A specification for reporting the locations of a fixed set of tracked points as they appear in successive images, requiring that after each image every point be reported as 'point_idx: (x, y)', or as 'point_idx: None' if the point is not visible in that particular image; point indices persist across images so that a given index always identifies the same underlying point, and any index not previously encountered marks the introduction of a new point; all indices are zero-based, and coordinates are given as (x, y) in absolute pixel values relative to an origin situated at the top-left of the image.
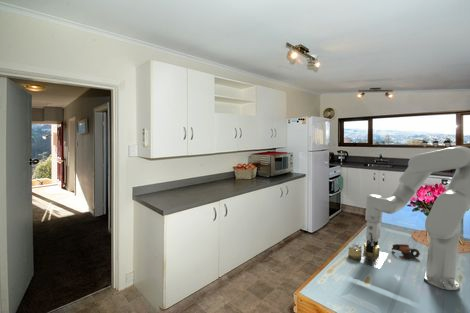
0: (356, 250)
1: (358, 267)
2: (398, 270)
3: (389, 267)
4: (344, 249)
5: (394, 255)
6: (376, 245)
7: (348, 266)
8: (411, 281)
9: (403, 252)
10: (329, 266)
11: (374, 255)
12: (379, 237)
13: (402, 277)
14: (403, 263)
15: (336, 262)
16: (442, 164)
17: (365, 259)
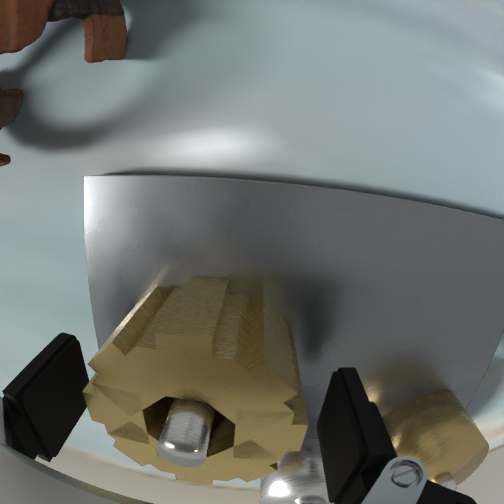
0: (449, 471)
1: (496, 357)
2: (400, 56)
3: (398, 135)
4: (258, 484)
5: (46, 131)
6: (128, 379)
7: (494, 397)
8: (487, 11)
9: (55, 5)
10: (501, 438)
11: (284, 323)
12: (15, 474)
13: (486, 53)
14: (182, 17)
15: None
16: None
17: (426, 368)
